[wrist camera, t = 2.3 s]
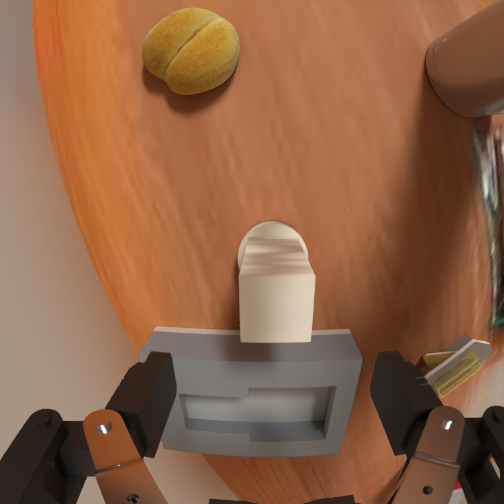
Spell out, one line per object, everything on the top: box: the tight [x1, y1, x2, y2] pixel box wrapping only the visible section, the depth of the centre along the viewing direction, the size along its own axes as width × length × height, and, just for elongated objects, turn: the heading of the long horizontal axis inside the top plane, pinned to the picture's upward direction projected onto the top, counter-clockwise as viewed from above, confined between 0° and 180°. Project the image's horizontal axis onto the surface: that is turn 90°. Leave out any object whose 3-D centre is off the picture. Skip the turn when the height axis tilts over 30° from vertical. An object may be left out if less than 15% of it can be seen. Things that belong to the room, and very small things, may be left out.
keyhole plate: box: [138, 326, 363, 457], centre depth 29 cm, size 20×14×6 cm
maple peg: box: [238, 220, 315, 343], centre depth 22 cm, size 6×6×12 cm
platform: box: [419, 333, 492, 398], centre depth 27 cm, size 12×18×7 cm, turn 126°
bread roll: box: [142, 8, 240, 95], centre depth 22 cm, size 8×9×4 cm
